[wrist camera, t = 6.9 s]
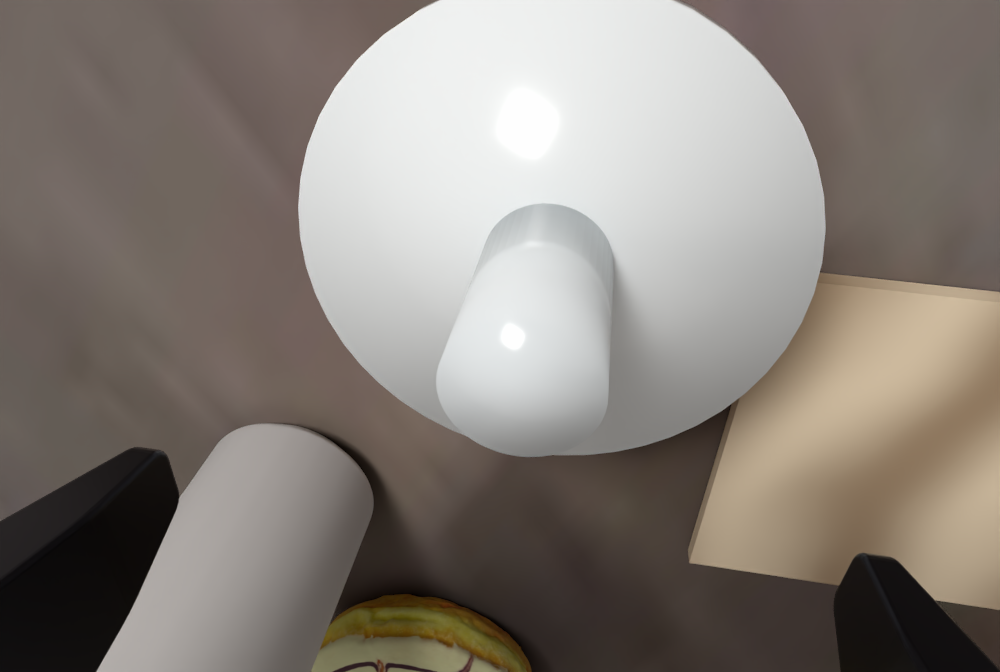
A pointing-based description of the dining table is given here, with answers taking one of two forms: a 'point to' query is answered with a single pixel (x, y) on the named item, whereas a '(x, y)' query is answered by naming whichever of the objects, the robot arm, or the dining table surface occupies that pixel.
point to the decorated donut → (416, 639)
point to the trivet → (868, 444)
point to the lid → (562, 220)
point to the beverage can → (250, 558)
